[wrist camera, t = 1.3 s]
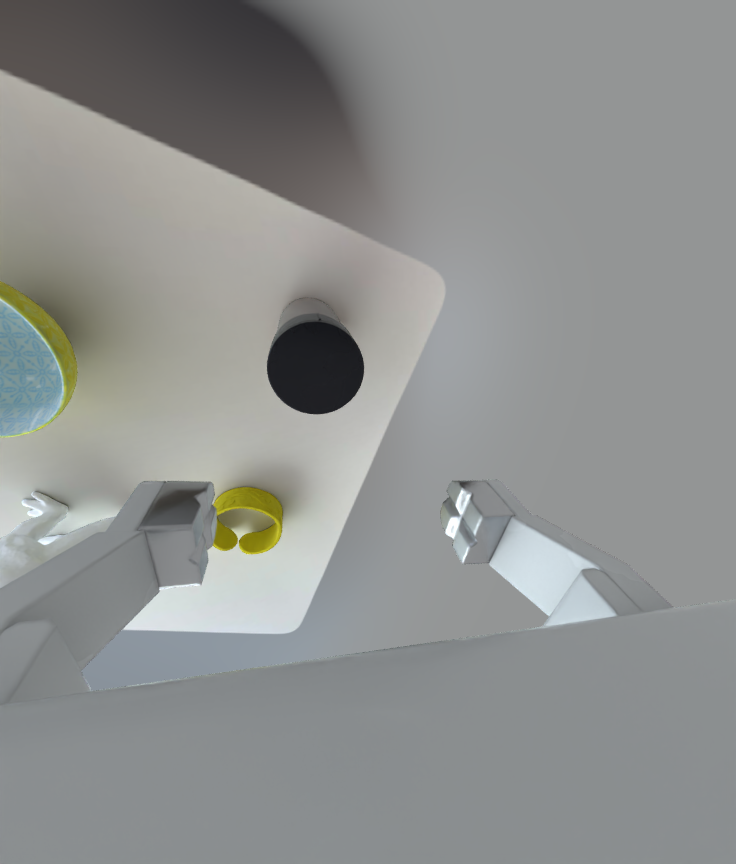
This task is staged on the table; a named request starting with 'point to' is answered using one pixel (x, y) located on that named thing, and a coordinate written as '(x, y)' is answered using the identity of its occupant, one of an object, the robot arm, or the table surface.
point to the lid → (314, 364)
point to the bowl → (31, 365)
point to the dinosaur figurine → (40, 538)
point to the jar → (305, 309)
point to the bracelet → (254, 501)
